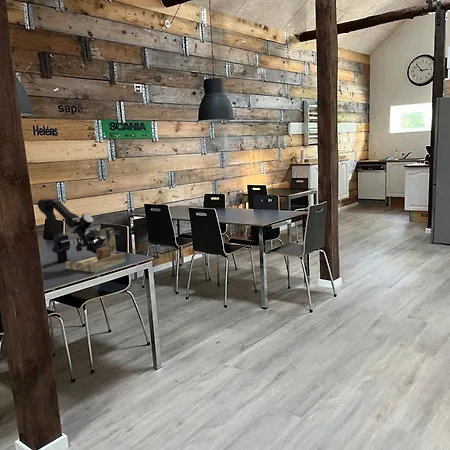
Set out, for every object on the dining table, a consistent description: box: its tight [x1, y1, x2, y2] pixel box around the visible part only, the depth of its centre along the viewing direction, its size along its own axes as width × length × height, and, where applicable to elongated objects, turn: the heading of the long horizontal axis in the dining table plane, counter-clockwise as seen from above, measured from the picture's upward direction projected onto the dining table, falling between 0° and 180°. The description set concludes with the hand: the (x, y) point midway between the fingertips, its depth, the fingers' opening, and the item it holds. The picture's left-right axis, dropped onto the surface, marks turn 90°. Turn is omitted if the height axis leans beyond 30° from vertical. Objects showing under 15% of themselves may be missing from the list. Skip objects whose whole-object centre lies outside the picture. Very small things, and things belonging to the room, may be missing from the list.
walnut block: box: [96, 247, 110, 260], centre depth 253 cm, size 5×5×8 cm
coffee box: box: [98, 227, 117, 254], centre depth 283 cm, size 9×6×16 cm
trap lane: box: [65, 252, 126, 273], centre depth 257 cm, size 22×23×6 cm
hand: (99, 254), depth 254 cm, fingers closed
